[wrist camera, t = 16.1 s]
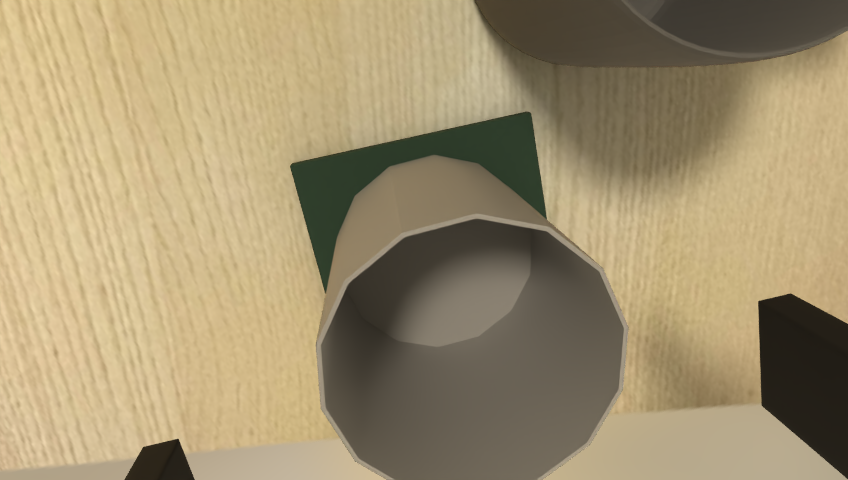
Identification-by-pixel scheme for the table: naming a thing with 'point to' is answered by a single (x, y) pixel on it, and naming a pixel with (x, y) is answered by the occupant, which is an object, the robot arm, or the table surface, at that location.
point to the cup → (464, 331)
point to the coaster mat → (353, 170)
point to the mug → (664, 30)
